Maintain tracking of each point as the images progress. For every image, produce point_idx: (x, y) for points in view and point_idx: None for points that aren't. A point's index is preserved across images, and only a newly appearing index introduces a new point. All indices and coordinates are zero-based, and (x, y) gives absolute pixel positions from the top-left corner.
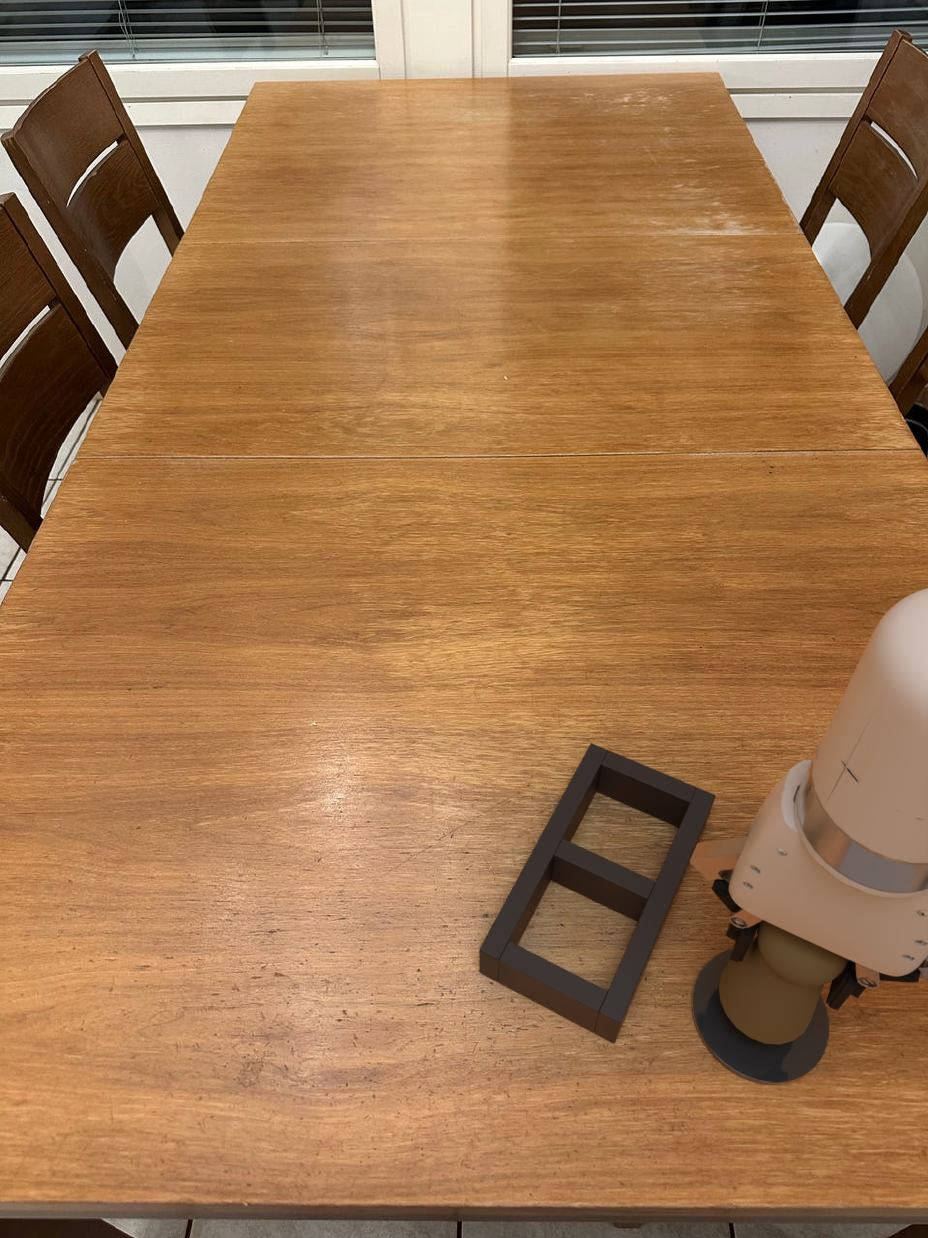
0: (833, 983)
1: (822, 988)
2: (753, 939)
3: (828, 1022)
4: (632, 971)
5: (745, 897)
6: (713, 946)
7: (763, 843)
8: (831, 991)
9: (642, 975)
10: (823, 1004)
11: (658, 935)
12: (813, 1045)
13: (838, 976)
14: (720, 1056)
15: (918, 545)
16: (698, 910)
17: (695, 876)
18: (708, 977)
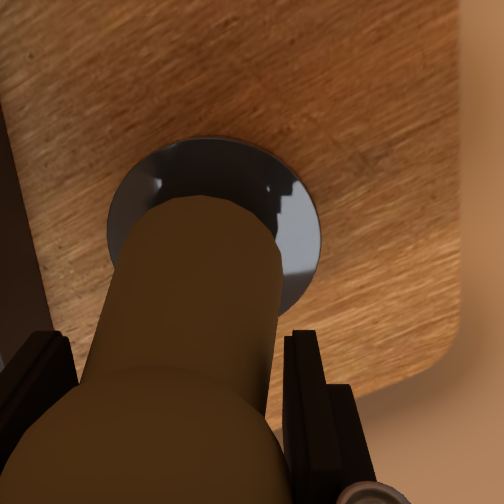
0: (284, 417)
1: (272, 358)
2: (93, 338)
3: (316, 212)
4: None
5: None
6: (107, 170)
7: None
8: (284, 437)
9: (32, 281)
10: (302, 187)
11: (2, 237)
12: (301, 256)
13: (287, 455)
14: None
15: None
16: (51, 116)
17: (8, 46)
18: (121, 233)
